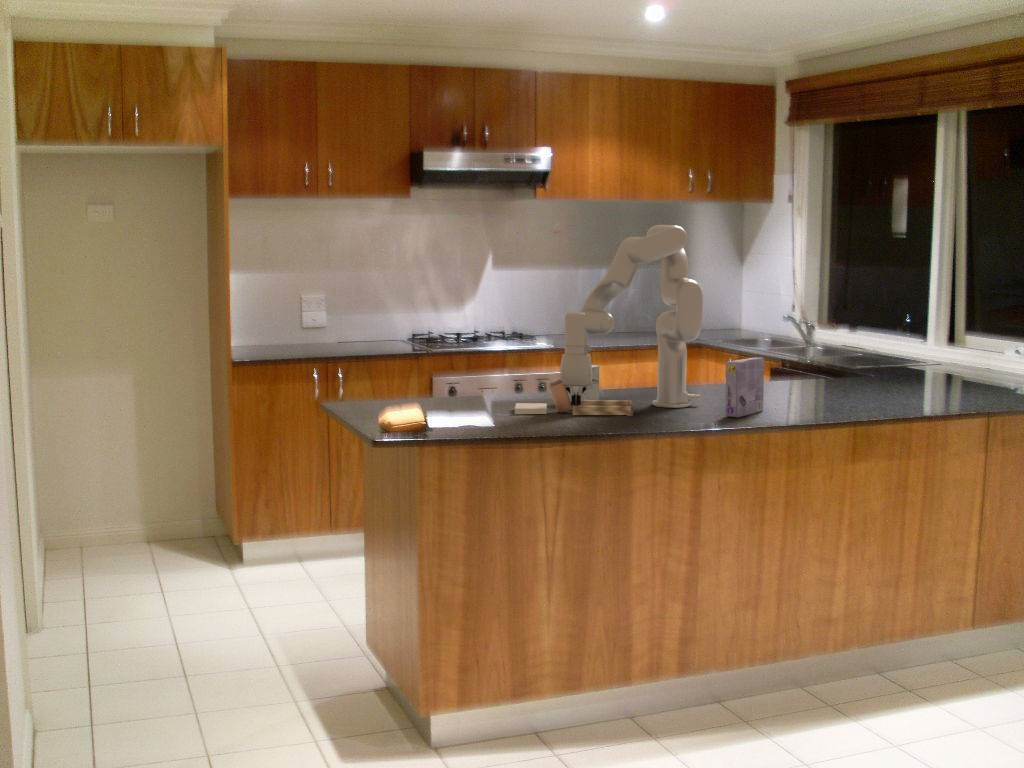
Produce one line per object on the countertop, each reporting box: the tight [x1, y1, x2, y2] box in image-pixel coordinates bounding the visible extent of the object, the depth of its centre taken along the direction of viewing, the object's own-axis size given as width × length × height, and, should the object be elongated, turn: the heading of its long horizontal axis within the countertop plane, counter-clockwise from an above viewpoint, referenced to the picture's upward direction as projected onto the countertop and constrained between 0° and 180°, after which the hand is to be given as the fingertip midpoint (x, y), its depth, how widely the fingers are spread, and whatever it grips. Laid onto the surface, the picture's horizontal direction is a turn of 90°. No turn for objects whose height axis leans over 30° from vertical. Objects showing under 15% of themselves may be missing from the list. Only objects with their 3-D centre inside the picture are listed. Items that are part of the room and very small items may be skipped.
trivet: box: [514, 402, 548, 415], centre depth 354 cm, size 10×10×2 cm
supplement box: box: [569, 364, 600, 401], centre depth 372 cm, size 7×7×13 cm
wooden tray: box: [572, 399, 634, 417], centre depth 352 cm, size 19×12×3 cm, turn 87°
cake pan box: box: [725, 357, 765, 419], centre depth 349 cm, size 19×5×18 cm, turn 141°
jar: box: [548, 378, 573, 414], centre depth 352 cm, size 5×5×10 cm
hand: (575, 406), depth 353 cm, fingers closed
